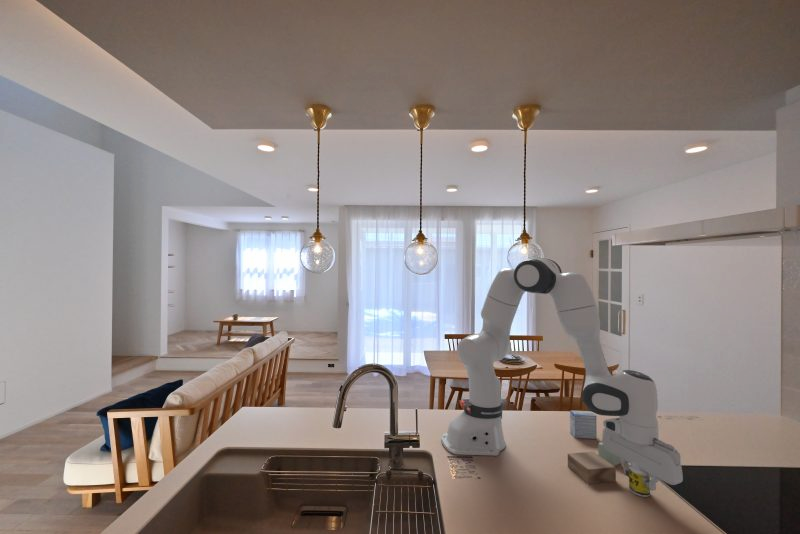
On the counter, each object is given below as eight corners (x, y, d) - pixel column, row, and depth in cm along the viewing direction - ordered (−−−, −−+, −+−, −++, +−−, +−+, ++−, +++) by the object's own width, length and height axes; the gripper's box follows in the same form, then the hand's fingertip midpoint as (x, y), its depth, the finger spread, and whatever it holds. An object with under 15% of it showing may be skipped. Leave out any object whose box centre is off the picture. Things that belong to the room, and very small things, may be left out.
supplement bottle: (625, 487, 96) (624, 456, 96) (640, 486, 96) (640, 456, 96) (638, 498, 91) (637, 465, 91) (654, 497, 91) (654, 465, 92)
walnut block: (588, 483, 97) (587, 469, 97) (567, 466, 106) (567, 453, 106) (615, 481, 98) (615, 467, 99) (593, 464, 107) (593, 451, 107)
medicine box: (591, 434, 129) (591, 411, 129) (597, 439, 125) (596, 415, 125) (569, 432, 130) (569, 410, 130) (574, 438, 125) (574, 414, 126)
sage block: (613, 466, 107) (613, 450, 107) (598, 458, 111) (598, 443, 111) (623, 462, 109) (623, 447, 109) (608, 455, 113) (608, 440, 113)
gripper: (688, 447, 85) (689, 503, 85) (613, 416, 105) (614, 461, 104) (671, 451, 83) (672, 508, 83) (598, 418, 103) (598, 465, 102)
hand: (639, 482), depth 94 cm, fingers closed on supplement bottle, 5 cm apart
